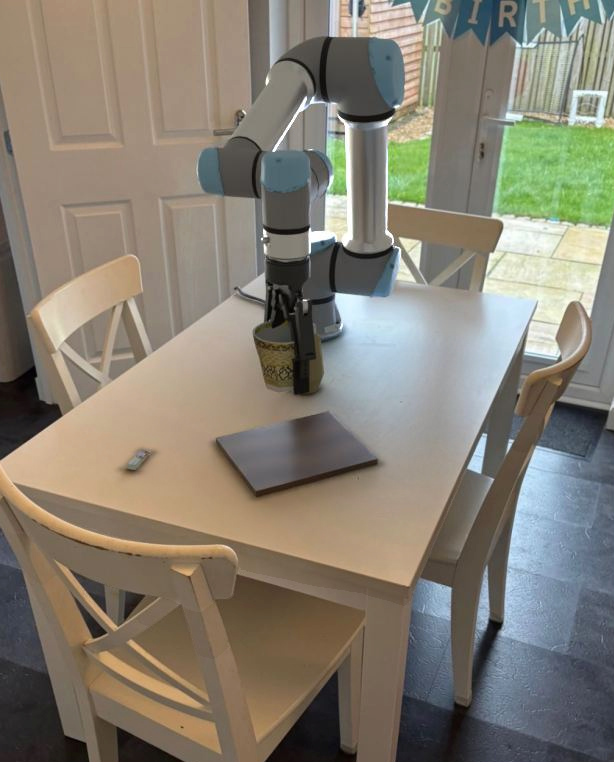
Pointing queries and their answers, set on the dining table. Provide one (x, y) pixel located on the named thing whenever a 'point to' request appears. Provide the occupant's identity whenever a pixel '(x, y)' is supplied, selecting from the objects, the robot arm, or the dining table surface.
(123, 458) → the dining table surface
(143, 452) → the granola bar
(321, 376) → the squeeze bottle
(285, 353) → the ceramic cup
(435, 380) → the dining table surface
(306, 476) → the serving board
